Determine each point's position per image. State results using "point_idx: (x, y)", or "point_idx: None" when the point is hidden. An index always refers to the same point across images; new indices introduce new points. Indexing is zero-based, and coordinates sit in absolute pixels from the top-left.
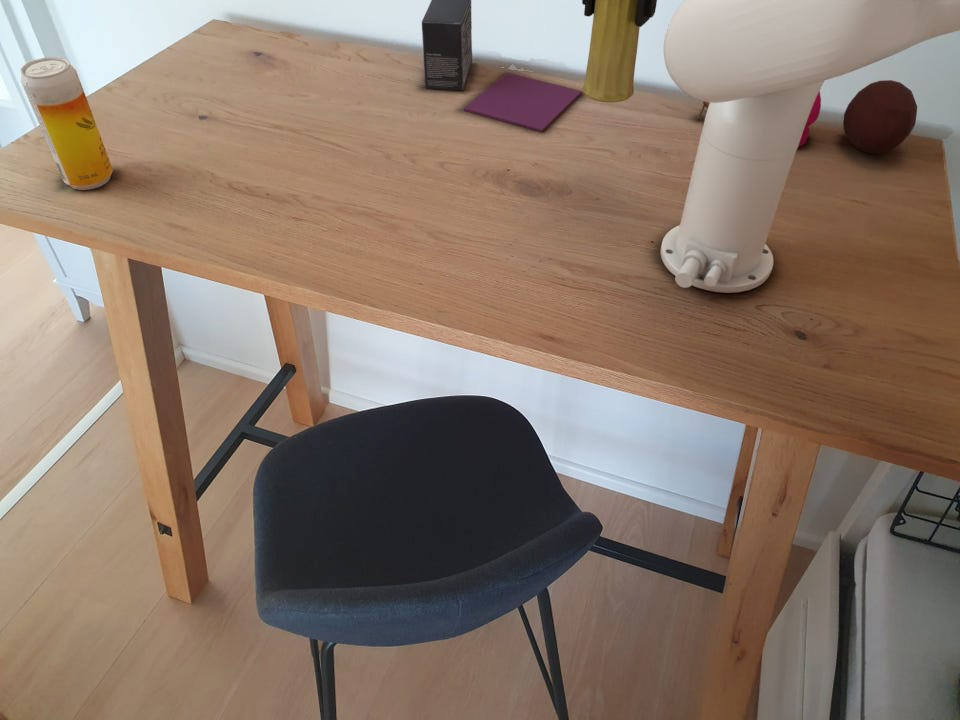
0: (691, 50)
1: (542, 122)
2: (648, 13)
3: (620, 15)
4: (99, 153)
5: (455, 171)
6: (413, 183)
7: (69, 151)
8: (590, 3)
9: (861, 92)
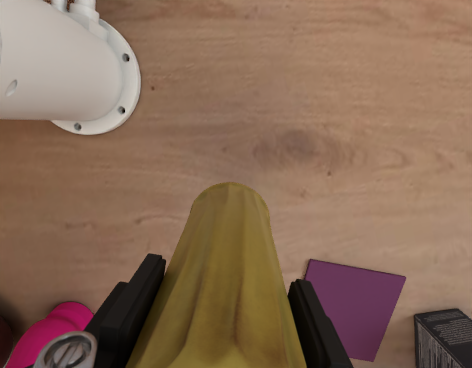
0: None
1: (313, 274)
2: (124, 286)
3: (202, 259)
4: None
5: (386, 152)
6: (428, 112)
7: None
8: (303, 301)
9: None
